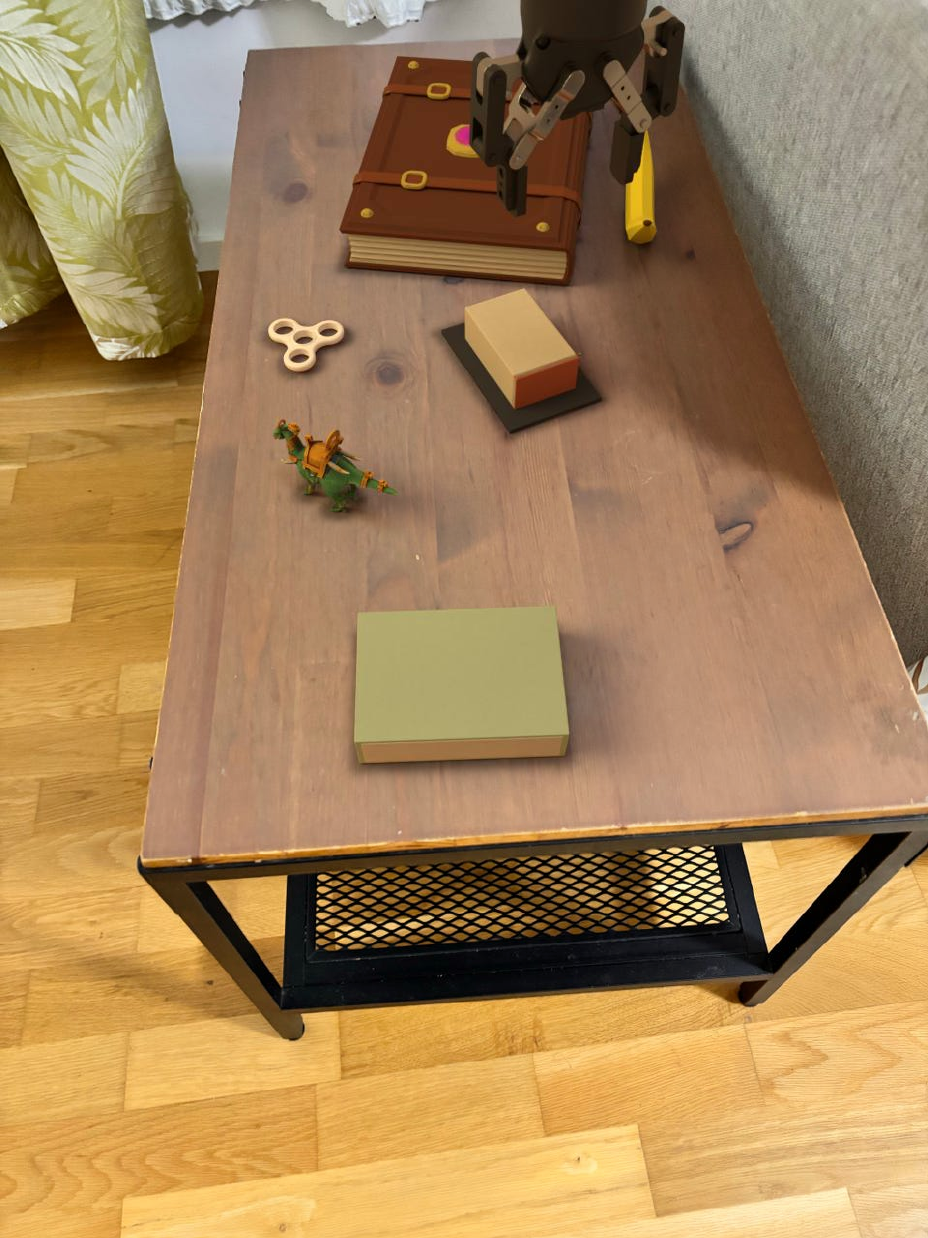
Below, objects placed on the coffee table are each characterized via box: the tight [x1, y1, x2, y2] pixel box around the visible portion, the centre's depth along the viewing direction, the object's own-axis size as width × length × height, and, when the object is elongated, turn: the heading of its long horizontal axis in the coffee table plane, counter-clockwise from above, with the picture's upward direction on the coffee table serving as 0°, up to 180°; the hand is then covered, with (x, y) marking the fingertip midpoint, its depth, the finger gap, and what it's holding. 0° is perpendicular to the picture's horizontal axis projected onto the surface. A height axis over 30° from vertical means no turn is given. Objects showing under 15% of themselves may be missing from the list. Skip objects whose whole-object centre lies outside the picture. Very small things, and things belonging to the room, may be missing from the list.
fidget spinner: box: [267, 317, 345, 372], centre depth 84 cm, size 7×6×1 cm
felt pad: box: [440, 321, 603, 434], centre depth 83 cm, size 14×9×1 cm, turn 26°
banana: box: [624, 129, 658, 245], centre depth 91 cm, size 3×19×6 cm, turn 175°
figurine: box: [272, 418, 399, 513], centre depth 71 cm, size 3×12×8 cm, turn 57°
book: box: [339, 55, 593, 285], centre depth 96 cm, size 23×32×5 cm
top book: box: [464, 288, 580, 410], centre depth 81 cm, size 10×6×4 cm, turn 26°
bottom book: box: [353, 605, 570, 764], centre depth 64 cm, size 14×10×4 cm
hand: (568, 194), depth 65 cm, fingers open, 8 cm apart
